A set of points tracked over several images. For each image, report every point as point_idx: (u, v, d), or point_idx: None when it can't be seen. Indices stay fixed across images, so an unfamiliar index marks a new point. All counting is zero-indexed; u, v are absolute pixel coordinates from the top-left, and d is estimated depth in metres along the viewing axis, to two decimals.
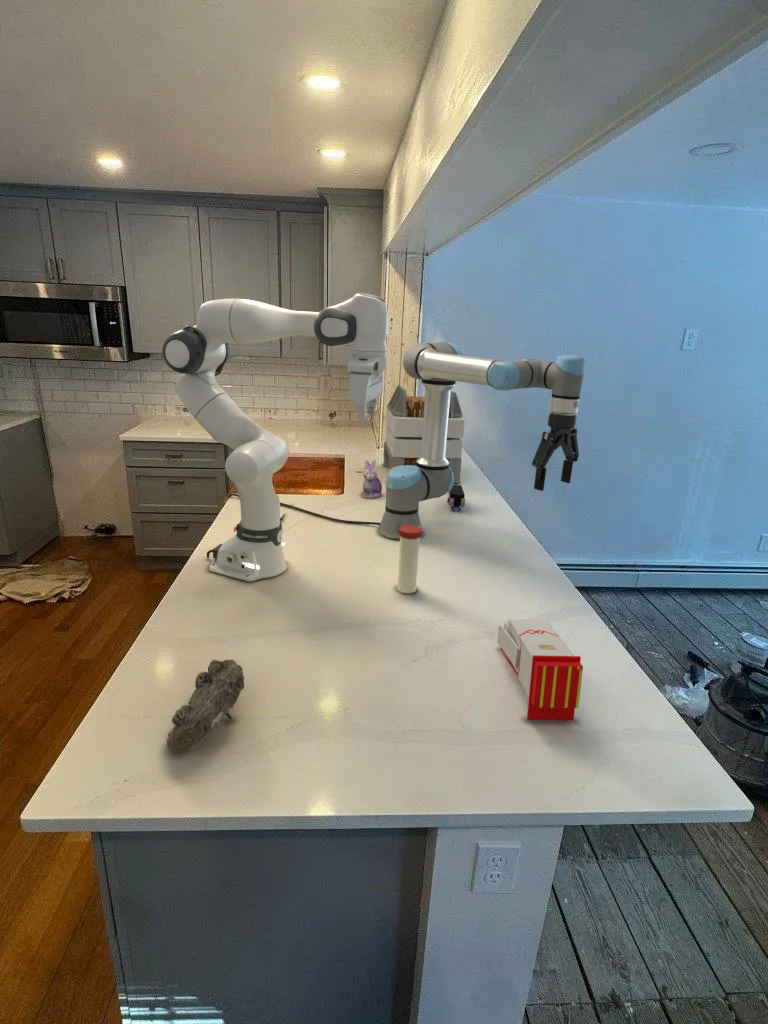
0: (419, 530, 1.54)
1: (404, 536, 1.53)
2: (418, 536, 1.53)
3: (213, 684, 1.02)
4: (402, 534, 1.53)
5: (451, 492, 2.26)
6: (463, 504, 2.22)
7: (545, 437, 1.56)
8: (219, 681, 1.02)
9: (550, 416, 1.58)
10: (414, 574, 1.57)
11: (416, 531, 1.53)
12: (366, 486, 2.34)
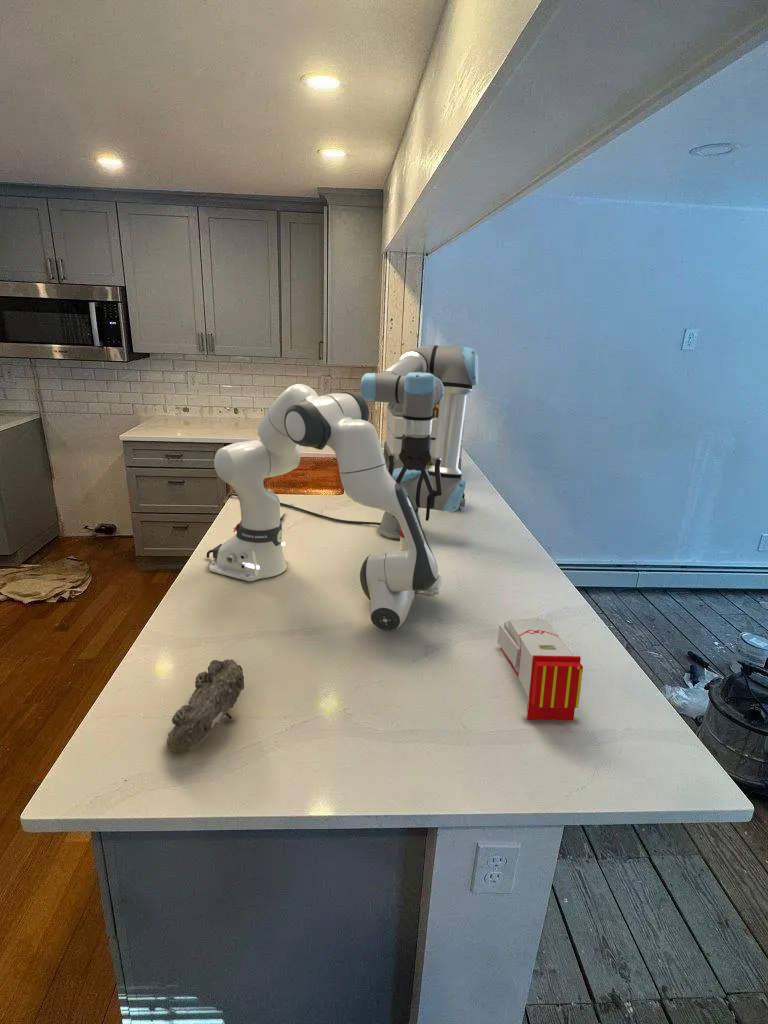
0: None
1: (404, 536, 1.53)
2: None
3: (213, 684, 1.02)
4: (402, 534, 1.53)
5: None
6: (463, 504, 2.22)
7: None
8: (219, 681, 1.02)
9: (428, 440, 1.44)
10: None
11: None
12: None
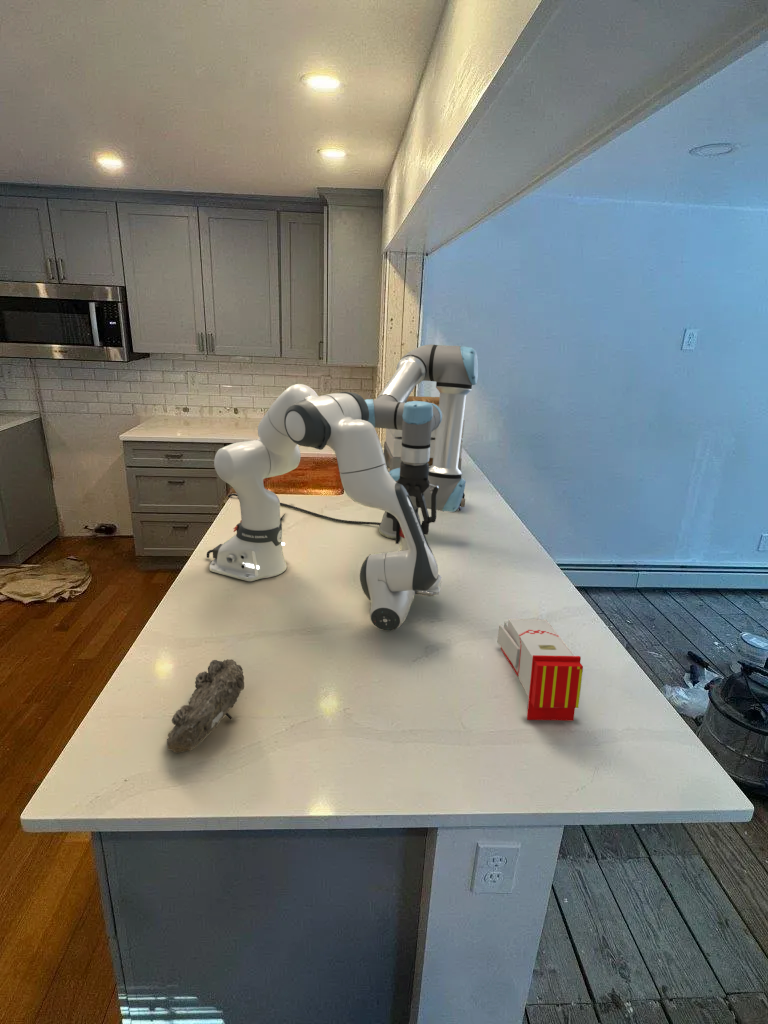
0: None
1: (404, 536, 1.53)
2: None
3: (213, 684, 1.02)
4: (402, 534, 1.53)
5: None
6: (463, 504, 2.22)
7: None
8: (219, 681, 1.02)
9: (426, 468, 1.46)
10: None
11: None
12: None
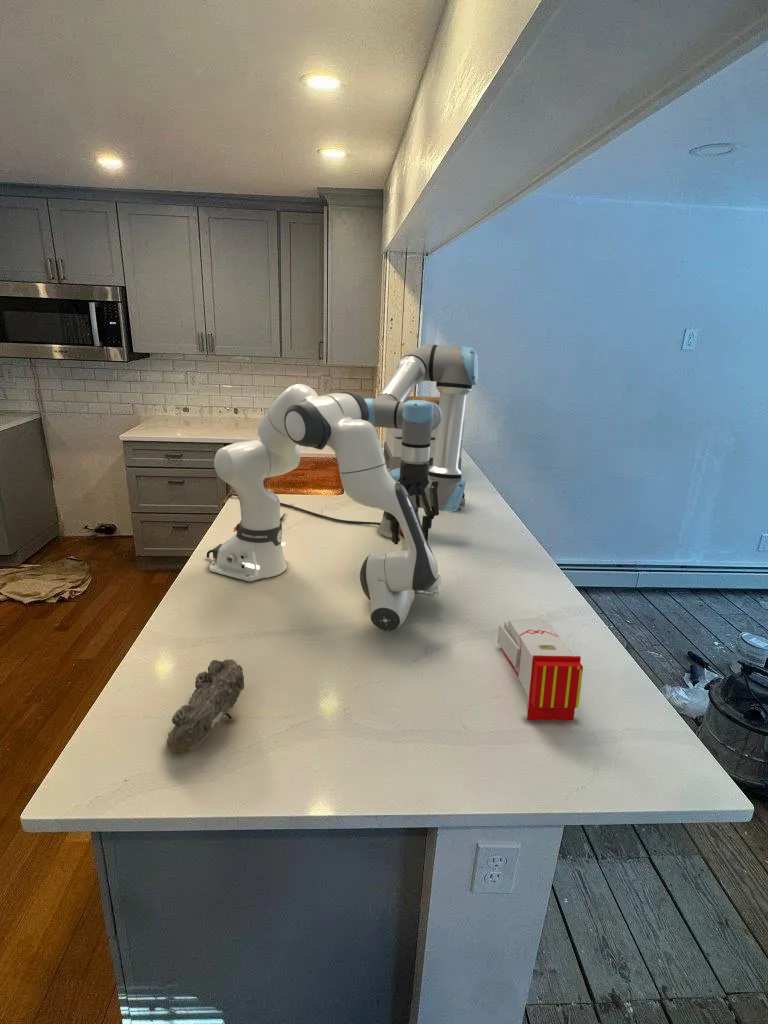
0: None
1: None
2: None
3: (213, 684, 1.02)
4: None
5: None
6: (463, 504, 2.22)
7: None
8: (219, 681, 1.02)
9: (428, 465, 1.48)
10: None
11: None
12: None
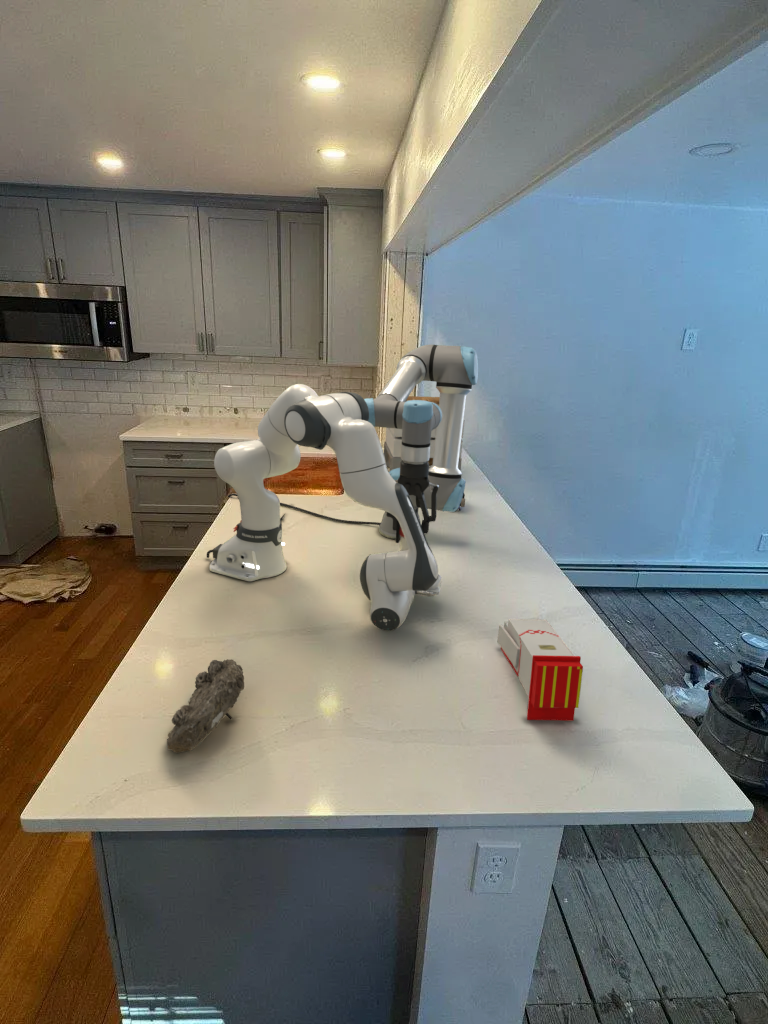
0: None
1: None
2: None
3: (213, 684, 1.02)
4: None
5: None
6: (463, 504, 2.22)
7: None
8: (219, 681, 1.02)
9: (426, 467, 1.46)
10: None
11: None
12: None
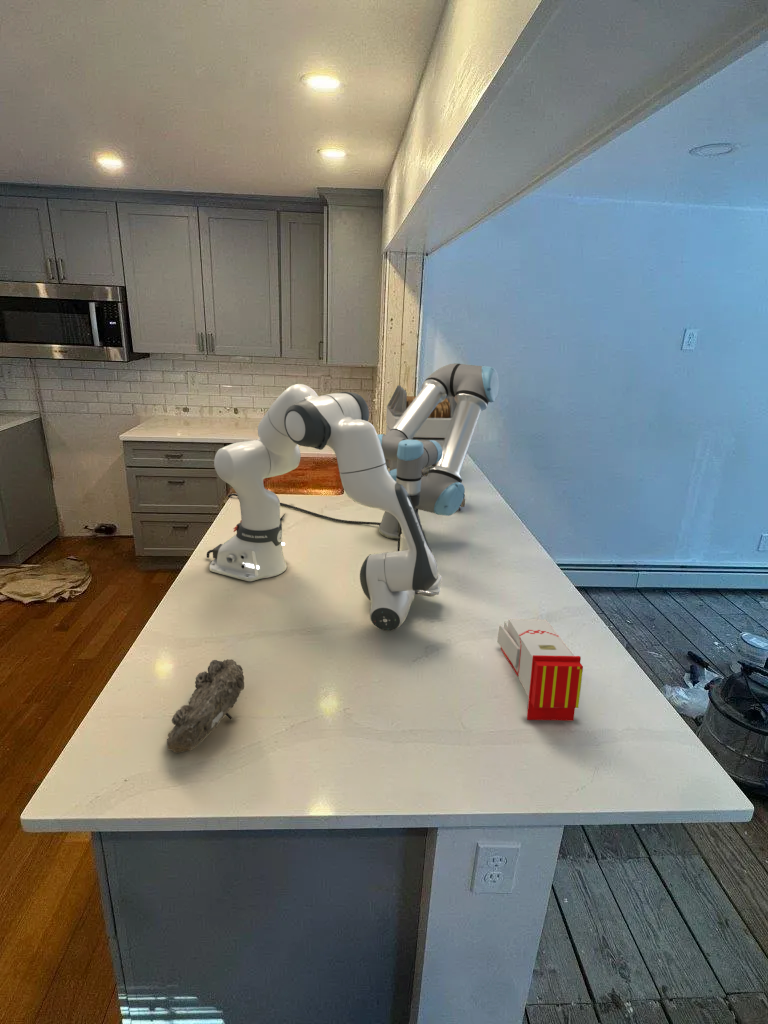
0: None
1: None
2: None
3: (213, 684, 1.02)
4: None
5: None
6: (463, 504, 2.22)
7: None
8: (219, 681, 1.02)
9: None
10: None
11: None
12: None
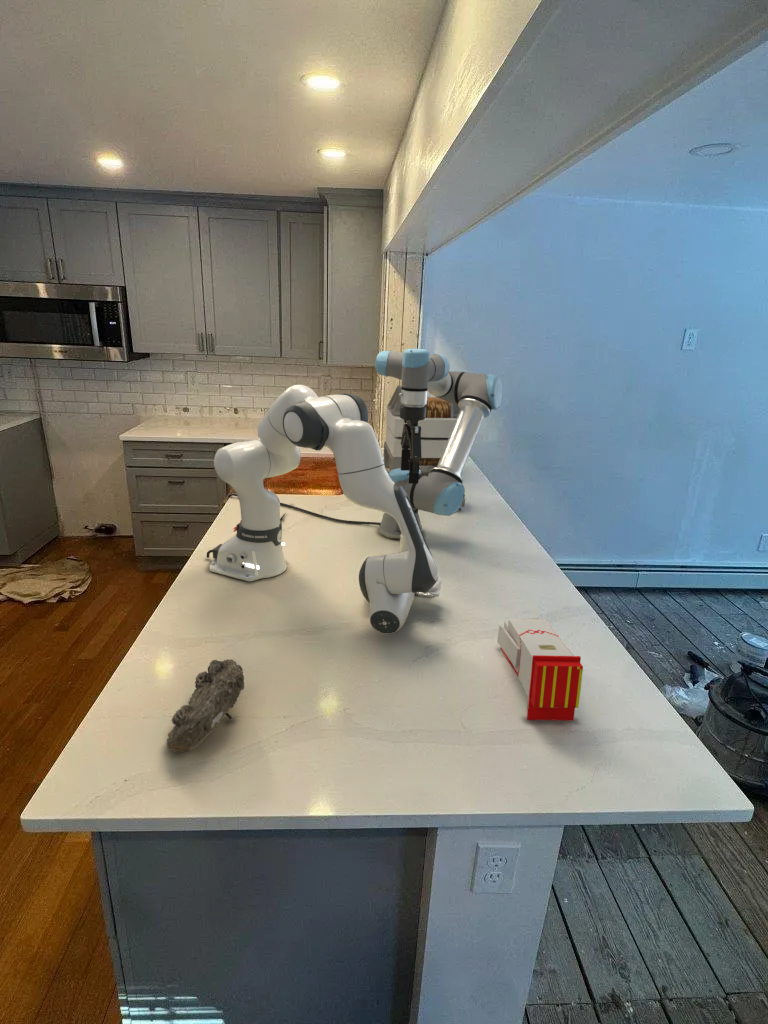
0: None
1: None
2: None
3: (213, 684, 1.02)
4: None
5: None
6: (463, 504, 2.22)
7: None
8: (219, 681, 1.02)
9: None
10: None
11: None
12: None
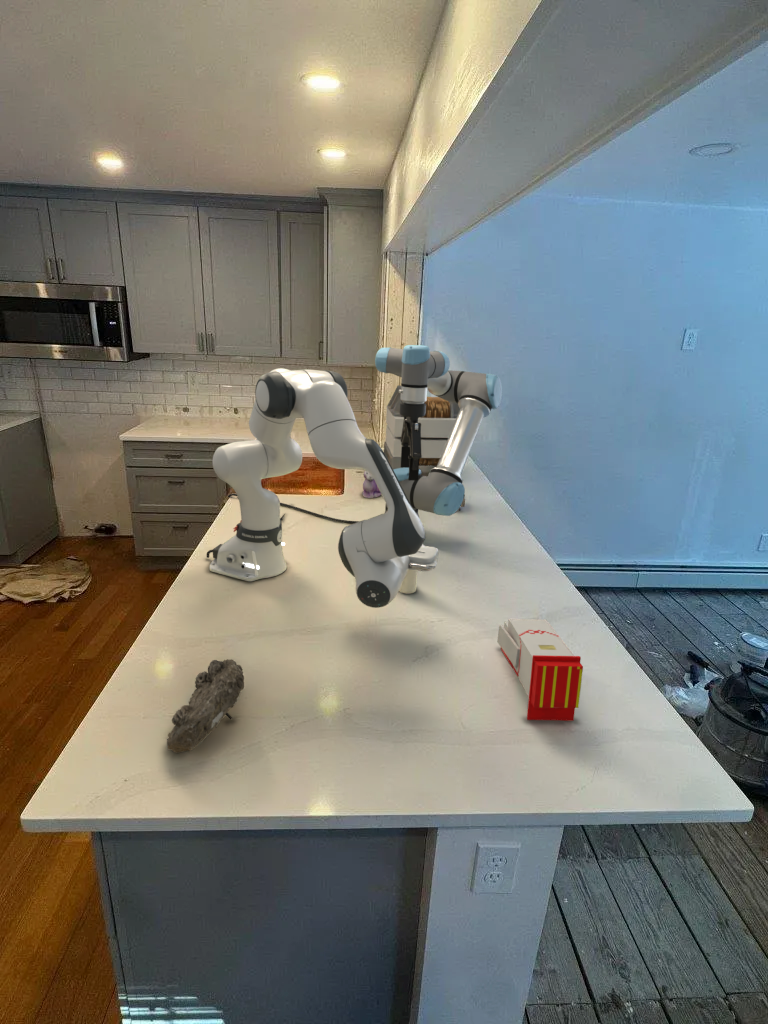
0: None
1: None
2: None
3: (213, 684, 1.02)
4: None
5: None
6: (463, 504, 2.22)
7: None
8: (219, 681, 1.02)
9: None
10: (414, 574, 1.57)
11: None
12: (366, 486, 2.34)
